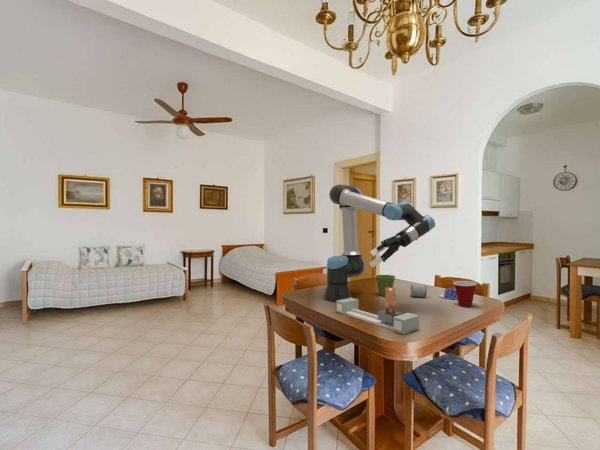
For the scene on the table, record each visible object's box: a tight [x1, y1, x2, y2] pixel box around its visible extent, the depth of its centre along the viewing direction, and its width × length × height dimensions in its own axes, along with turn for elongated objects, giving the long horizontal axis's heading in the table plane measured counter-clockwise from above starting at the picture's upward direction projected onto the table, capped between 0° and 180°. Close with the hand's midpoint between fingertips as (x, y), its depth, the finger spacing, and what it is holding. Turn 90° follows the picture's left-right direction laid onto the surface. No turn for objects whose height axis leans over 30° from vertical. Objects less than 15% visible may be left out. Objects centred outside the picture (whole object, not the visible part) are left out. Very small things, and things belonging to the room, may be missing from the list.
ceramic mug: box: [410, 282, 428, 298], centre depth 178 cm, size 11×8×8 cm
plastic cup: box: [452, 280, 478, 308], centre depth 158 cm, size 11×11×12 cm
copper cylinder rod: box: [377, 287, 404, 323], centre depth 127 cm, size 7×7×13 cm
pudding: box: [439, 287, 458, 300], centre depth 175 cm, size 12×12×5 cm
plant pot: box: [374, 274, 396, 297], centre depth 181 cm, size 12×12×11 cm
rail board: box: [335, 297, 420, 336], centre depth 134 cm, size 37×10×6 cm, turn 37°
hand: (371, 260), depth 147 cm, fingers open, 13 cm apart
